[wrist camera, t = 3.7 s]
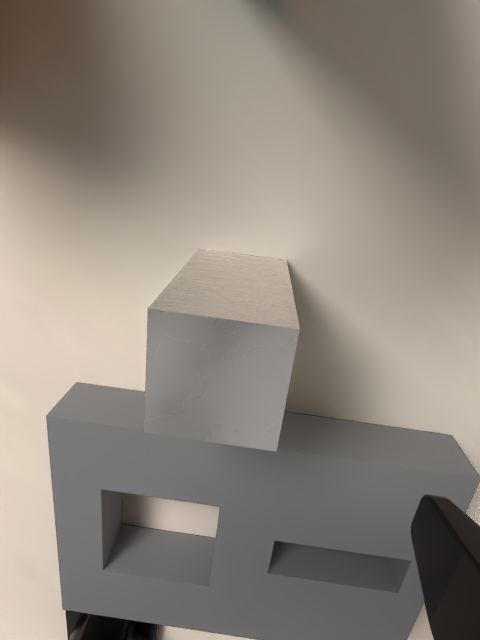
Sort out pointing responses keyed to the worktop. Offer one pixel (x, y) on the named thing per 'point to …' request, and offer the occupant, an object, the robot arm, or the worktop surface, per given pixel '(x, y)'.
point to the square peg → (222, 351)
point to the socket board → (247, 522)
